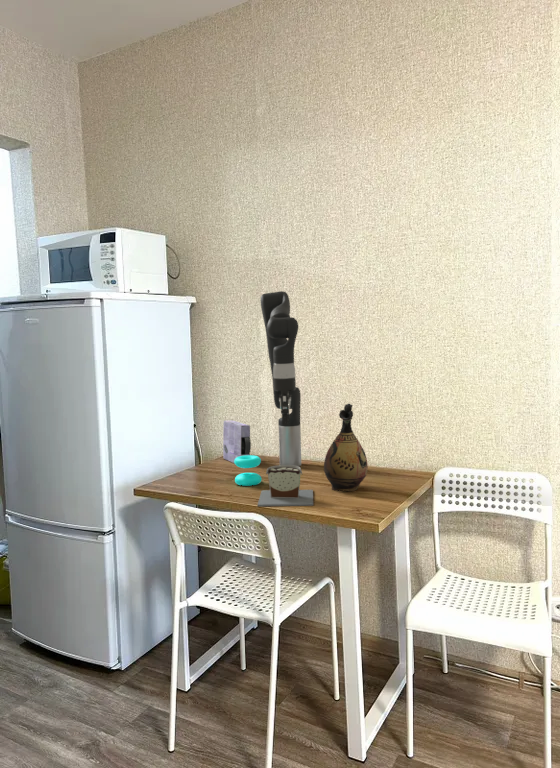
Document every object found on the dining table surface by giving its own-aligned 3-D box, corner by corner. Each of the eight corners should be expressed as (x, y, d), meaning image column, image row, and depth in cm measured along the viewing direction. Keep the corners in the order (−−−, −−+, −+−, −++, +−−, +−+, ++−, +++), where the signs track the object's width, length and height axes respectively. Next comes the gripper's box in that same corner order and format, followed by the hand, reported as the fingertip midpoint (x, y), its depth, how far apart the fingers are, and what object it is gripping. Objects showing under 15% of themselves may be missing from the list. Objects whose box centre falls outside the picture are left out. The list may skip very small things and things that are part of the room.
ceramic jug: (367, 494, 207) (365, 407, 205) (322, 493, 210) (320, 407, 207) (369, 482, 224) (367, 401, 221) (327, 481, 227) (325, 401, 224)
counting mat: (261, 492, 214) (261, 490, 214) (312, 491, 213) (312, 489, 213) (257, 506, 196) (257, 504, 196) (313, 505, 195) (313, 503, 195)
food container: (305, 493, 208) (304, 464, 207) (302, 498, 202) (302, 468, 201) (270, 492, 210) (269, 464, 210) (266, 497, 204) (265, 468, 204)
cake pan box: (252, 465, 260) (251, 424, 258) (241, 466, 257) (240, 425, 256) (232, 458, 276) (231, 419, 275) (222, 459, 274) (221, 420, 272)
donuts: (238, 454, 233) (263, 454, 231) (239, 480, 233) (264, 480, 231) (230, 459, 223) (257, 460, 221) (231, 486, 224) (258, 487, 222)
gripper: (295, 378, 200) (296, 426, 202) (295, 374, 214) (297, 419, 216) (272, 378, 200) (274, 427, 202) (274, 374, 214) (275, 420, 216)
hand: (285, 423), depth 209 cm, fingers open, 8 cm apart
